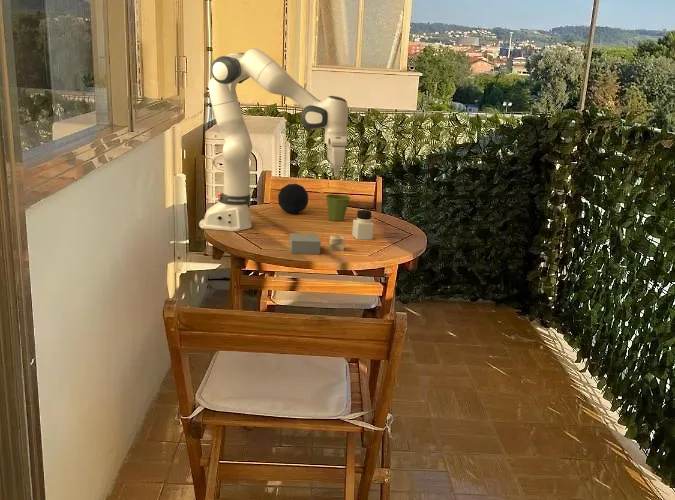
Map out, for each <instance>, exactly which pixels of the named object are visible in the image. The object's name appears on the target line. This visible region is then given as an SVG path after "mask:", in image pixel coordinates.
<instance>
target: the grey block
mask: <svg viewBox="0 0 675 500" xmlns="http://www.w3.org/2000/svg"><path fill="white" fill-rule="evenodd" d="M288 247H289V250H290V253H291V254H294V255H295V254H299V255H301V254H302V255H321V240H320V237H319V235H318V233H317V234H316V233H295V232H294V233H293V232H292V233H289V246H288Z"/></svg>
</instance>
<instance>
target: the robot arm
mask: <svg viewBox="0 0 675 500" xmlns="http://www.w3.org/2000/svg"><path fill="white" fill-rule="evenodd" d="M210 73H211V76H212V78H210V80H209V81H208V93H209V98H210V99H209V100H210V103H211V108H212V111H213V114H214V118H215V122H216V126H218V130H219V132H220V134H221V136H222V138H223V141H224V143H223V146H222V169H223V188H222V189H223V192H218V193H217V197H218V199H217V200H218V202H216V203H215V204H213V205H212V206H210V207H209V208H207V210H206V212H205V214H204V218H203V219H201V220H200V221H199V223H198V226H199V228H201V229H204V230H205V229H206V230H217V231H228V232H229V231H230V232H239V231H242V230H247V229H251V228H252V227H253V224H252V220H251V212H250V210H251V209H250V207H251V194H250V191H251V190H250V187H251V185H250V184H251V175H250V174H251V173H250V172H251V170H250V155H251V154H252V153H253V143H252V140H251V136H250V133H249V131H248V128H247V124H246V123H245V122H246V121H245V119H244V115H243V112H242V109H241V105H240V101H239V98H238V95H237V90H236V89H237V88H236V87H237V85H238V84H242V83H243V82H245V81H246V80H248V79H249V78H251V79H252V80H253V81H254V82H256V83H257V84H258V85H259V86H260V87H261V88H262V89H264V90H265V91H267V92H268V93H271V94H274V95H279V96H283V97H285V98H289V99H291V100H292V101H294V102H296V104H298V105H299V106H300V107H301V108H302V111H301V114H300V119H301V123H302V125H304V127H305V128H307V129H309V130H319V129H324V144H326V145H327V153H326V157H327V160H328V161H329V164H330V165H329V167H330V170H329V171H330V173H333V176H334V177H335V178H337V177H339V176H340V169H341V167H343V166H344V163H345V159H346V158H345V157H346V155H345V154H346V147H348V126H347V125H348V122H349V121H348V120H349V108H348V107H349V106H348V102H347V100H346V99H345V98H344V97H340V96H335V95H329V96H327V97H326V98H325V99H323V100H319V99H318V98H317V97H315V96H314V95H313V94H312V93H310V92H309V91H308V90H307V89H305V88H304V87H303V86H302V85H300V84H299V83H298V82H297V81H296V80H295V79H294V78H293V77H292V76H291V75H290V74H289V73H288V72H287V71H286V70H285V69H284V68H283V67H282V66H281V65H280V64H279V63H278V62H276V61H275V59H273V58H272V57H270V55H268V54H267V53H265V52H263V51H262V50H260V49H259V48H257V47H256V48H251V49H248V50H247V51H246V52H237V53H236V52H235V53H229V54H227V55H223V56H222V55H221V56H219V57H217V58H216V59H214V60H213V62H212V64H211V66H210Z"/></svg>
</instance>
